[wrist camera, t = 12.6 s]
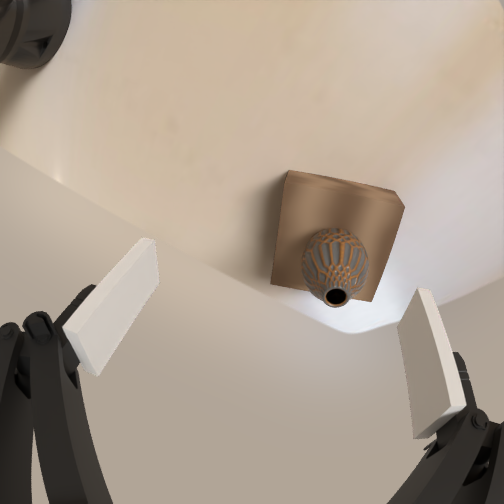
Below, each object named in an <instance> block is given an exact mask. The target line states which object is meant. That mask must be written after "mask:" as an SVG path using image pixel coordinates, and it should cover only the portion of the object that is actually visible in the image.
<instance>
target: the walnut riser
mask: <svg viewBox="0 0 504 504" xmlns="http://www.w3.org/2000/svg"><path fill="white" fill-rule="evenodd" d="M404 209H405V206H404V204H403V203H402V201H401V200H400V198H399V197H398V195H397V194H396V192H395V191H392V190H388V189H383V188H379V187H375V186H370V185H366V184H361V183H356V182H352V181H347V180H342V179H337V178H332V177H326V176H321V175H315V174H310V173H304V172H298V171H292V170H289V172H288V174H287V177H286V180H285V182H284V190H283V197H282V205H281V213H280V220H279V227H278V235H277V242H276V249H275V256H274V263H273V270H272V277H271V283H270V284H272V285H277V286H283V287H288V288H294V289H299V290H304V291H309V289H308V288H307V286H306V284H305V282H304V280H303V277H302V272H301V260H302V255H303V252H304V249H305V247H306V245H307V244H308V242H309V241H310V240H311V238H312V237H313V236H315V235H316V234H317V233H319V232H321V231H323V230H326V229H330V228H340V229H344V230H347V231H349V232H351V233H353V234H354V235H355V236H356V237H357V238H358V239H359V240H360V241H361V242H362V244H363V245H364V247H365V249H366V252H367V255H368V260H369V272H368V277H367V280H366V282H365V285H364V286H363V288H362V290H361V291H360V292H359V293H358V294H357V295H356V296H355V297H353V298H352V299H356V300H362V301H368V302H372V300H373V297H374V295H375V292H376V290H377V287H378V285H379V282H380V280H381V277H382V274H383V272H384V269H385V266H386V263H387V261H388V258H389V255H390V252H391V249H392V246H393V243H394V240H395V237H396V234H397V231H398V228H399V225H400V222H401V219H402V215H403V212H404Z"/></svg>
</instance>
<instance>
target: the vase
mask: <svg viewBox="0 0 504 504" xmlns="http://www.w3.org/2000/svg"><path fill="white" fill-rule="evenodd" d="M301 272H302V277H303V280H304V282H305V284H306V286H307V288H308V289H309V291H310V292H311V293H312V294H313V295H314V296H315V297H317V298H318V299H320V300H322V301H324V303H325V304H326V305H328V306H330V307H334V308H337V307H341V306H344V305H345V304H346V303H347V302H348V301H349V300H350V299H352V298H353V297H355V296H356V295H357V294H358V293H359V292H360V291H361V290H362V288H363V286H364V285H365V282H366V280H367V277H368V272H369V260H368V255H367V252H366V249H365V247H364V245H363V244H362V242H361V241H360V240H359V239H358V238H357V237H356V236H355V235H354V234H353V233H351V232H349V231H347V230H344V229H340V228H330V229H326V230H323V231H321V232H319V233H317V234H316V235H315V236H313V237H312V238H311V240H310V241H309V242H308V244H307V245H306V247H305V249H304V252H303V255H302V260H301Z"/></svg>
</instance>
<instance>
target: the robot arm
mask: <svg viewBox="0 0 504 504" xmlns="http://www.w3.org/2000/svg"><path fill="white" fill-rule="evenodd" d="M70 17H71V0H0V63H2V64H6V65H10V66H14V67H18V68H21V69H30V68H36V67H40V66H42V65H43V64H45V63H46V62H47V61H49V60H50V59H51V57H52V56H53V55H54V54H55V52H56V51H57V50H58V48H59V46H60V45H61V43H62V41H63V39H64V37H65V34H66V32H67V29H68V26H69V22H70ZM159 283H160V280H159V272H158V264H157V256H156V245H155V240H153V239H148V238H141V239H140V240H139V241H138V242H137V243H136V244H135V245H134V246H133V247H132V248H131V249H130V250H129V251H128V252H127V254H126V255H125V256H124V257H123V258H122V259H121V260H120V261H119V262H118V263H117V264H116V265H115V266H114V268H113V269H112V270H111V271H110V272H109V273H108V274H107V275H106V276H105V278H104V279H103V280H102V281H101V282H100V283H99V284H98V285H97V286H96V285H92V284H91V285H89V286H88V287H86V288H84V289H83V290H82V291H81V292H80V293H79V294H78V295H77V296H76V299H74V300H73V301H72V302H71V304H70V305H69V306H68V307H67V308H66V309H65V310H64V311H63V312H62V314H61V315H60V316H59V317H58V318H57V320H56V321H55V322H54V323H52V320H51V318H50V316H49V315H48V314H47V313H46V312H43V311H38V312H34V313H32V314H30V315H29V316H28V317H27V318H26V319H25V320H24V322H23V325H22V327H23V328H24V330H25V332H22V331H21V330H20V328H19V326H18V325H17V324H16V323H13V322H9V323H6V324H4V325H2V326H1V327H0V504H32V493H31V463H32V443H33V430H34V432H35V439H36V445H37V451H38V457H39V462H40V467H41V472H42V476H43V481H44V485H45V489H46V493H47V497H48V500H49V504H113V502H112V499H111V497H110V494H109V492H108V489H107V486H106V483H105V480H104V477H103V474H102V471H101V468H100V465H99V462H98V459H97V455H96V452H95V448H94V445H93V441H92V437H91V434H90V429H89V425H88V421H87V416H86V412H85V407H84V402H83V397H82V391H81V386H80V380H79V374H78V370H77V366H78V365H79V363H81V365H82V367H83V369H84V370H85V371H87V372H89V373H91V374H93V375H95V376H99V375H100V373H101V371H102V370H103V368H104V367H105V365H106V364H107V362H108V360H109V359H110V357H111V356H112V353H113V352H114V351H115V349H116V348H117V346H118V345H119V343H120V341H121V340H122V338H123V337H124V335H125V333H126V332H127V331H128V329H129V328H130V326H131V325H132V323H133V322H134V320H135V319H136V317H137V316H138V314H139V313H140V311H141V310H142V308H143V307H144V305H145V304H146V302H147V301H148V299H149V298H150V296H151V295H152V294H153V292H154V291H155V289H156V288H157V286H158V285H159ZM397 329H398V334H399V339H400V344H401V350H402V355H403V360H404V366H405V372H406V378H407V385H408V393H409V400H410V408H411V417H412V427H413V439H422V438H429V437H430V436H432V435H433V434H434V433H435V432H436V435H437V439H436V440H434V441H433V442H431V443H430V444H429V445H427V446H426V447H425V448H424V450H427V449H428V448H429V449H428V450H427V452H426V453H425V455H424V456H423V458H422V459H421V461H420V462H419V464H418V465H417V466H416V468H415V469H414V471H413V472H412V473H411V475H410V476H409V477H408V479H407V480H406V481H405V483H404V484H403V485H402V486H401V487H400V489H399V490H398V491H397V492H396V494H395V495H394V496H393V497H392V498H391V500H390V501H389V502H388V503H387V504H504V422H502V423H501V424H498V423H494V422H491V421H489V419H488V417H487V415H486V414H485V412H484V411H482V410H480V409H477V406H476V402H475V398H474V394H473V390H472V386H471V382H470V380H469V375H468V373H467V369H466V365H465V362H464V360H463V359H462V357H461V356H460V355H459V353H458V352H452V349H451V346H450V343H449V340H448V337H447V334H446V331H445V329H444V325H443V323H442V320H441V317H440V314H439V312H438V309H437V306H436V304H435V301H434V299H433V296H432V294H431V291H430V290H428V289H422V288H417V290H416V292H415V294H414V296H413V298H412V300H411V302H410V304H409V306H408V308H407V309H406V311H405V313H404V315H403V317H402V319H401V321H400V323H399V324H398V326H397ZM488 463H489V464H488Z"/></svg>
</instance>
